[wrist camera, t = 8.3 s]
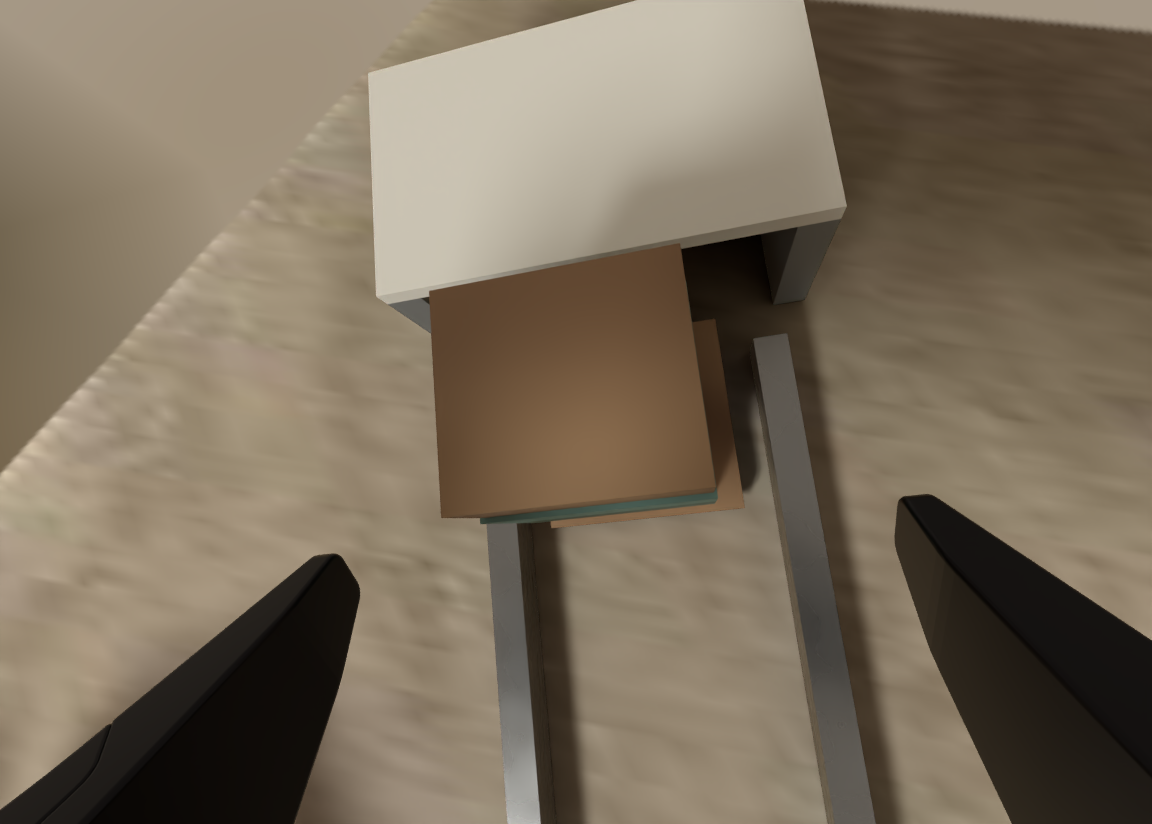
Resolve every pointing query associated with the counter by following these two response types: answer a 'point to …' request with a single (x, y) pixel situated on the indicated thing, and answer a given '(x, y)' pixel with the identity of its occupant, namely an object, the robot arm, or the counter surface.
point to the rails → (809, 601)
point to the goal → (604, 147)
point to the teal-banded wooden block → (581, 396)
